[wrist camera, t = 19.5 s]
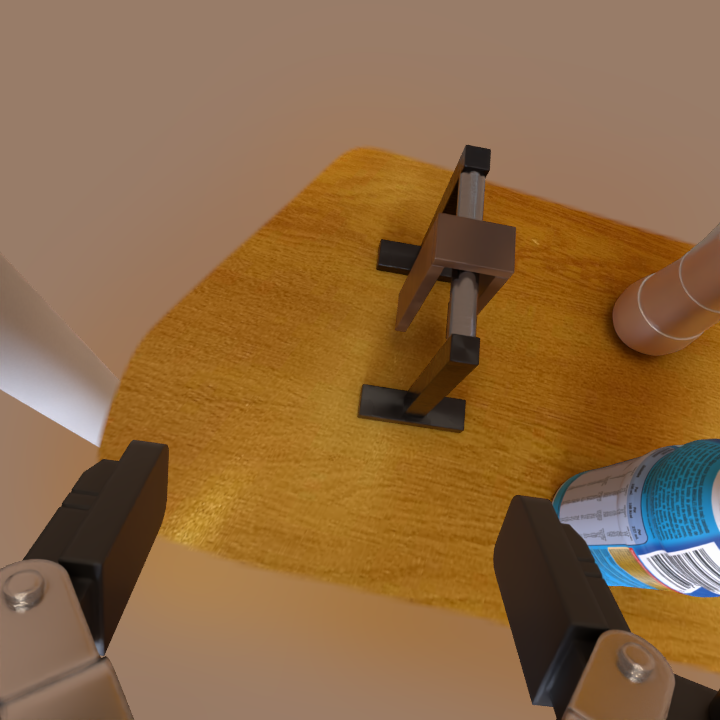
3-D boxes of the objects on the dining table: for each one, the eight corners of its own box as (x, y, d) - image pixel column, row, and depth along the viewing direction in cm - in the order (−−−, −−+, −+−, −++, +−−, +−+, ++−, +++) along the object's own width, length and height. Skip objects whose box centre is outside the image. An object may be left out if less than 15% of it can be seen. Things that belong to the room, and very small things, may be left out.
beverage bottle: (531, 479, 44) (721, 421, 25) (631, 461, 45) (881, 395, 26) (562, 597, 41) (799, 633, 22) (666, 575, 43) (971, 591, 24)
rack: (357, 417, 43) (390, 357, 30) (379, 244, 48) (415, 128, 35) (460, 433, 44) (536, 381, 31) (471, 261, 49) (541, 153, 36)
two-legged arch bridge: (395, 330, 42) (434, 257, 32) (399, 293, 43) (439, 211, 33) (455, 341, 42) (514, 272, 32) (458, 304, 43) (516, 226, 33)
